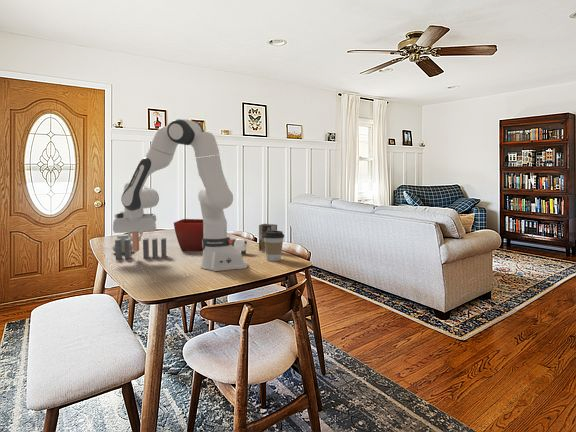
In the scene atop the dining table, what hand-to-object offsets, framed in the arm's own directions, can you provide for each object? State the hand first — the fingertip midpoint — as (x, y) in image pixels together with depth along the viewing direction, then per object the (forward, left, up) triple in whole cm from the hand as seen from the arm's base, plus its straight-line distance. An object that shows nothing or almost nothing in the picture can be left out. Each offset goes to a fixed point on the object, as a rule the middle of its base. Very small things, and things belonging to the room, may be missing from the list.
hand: (135, 240), depth 183 cm
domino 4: (-4, -6, -10) cm, 13 cm away
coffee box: (-70, -11, -10) cm, 72 cm away
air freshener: (+11, -21, -10) cm, 26 cm away
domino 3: (0, 0, -5) cm, 5 cm away
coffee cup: (-70, +10, -10) cm, 71 cm away
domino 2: (+5, -6, -10) cm, 13 cm away
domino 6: (-13, -6, -10) cm, 18 cm away
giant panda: (-51, -9, -10) cm, 53 cm away
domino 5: (-8, -6, -10) cm, 15 cm away
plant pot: (-28, -28, -10) cm, 41 cm away
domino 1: (+10, -6, -10) cm, 15 cm away
